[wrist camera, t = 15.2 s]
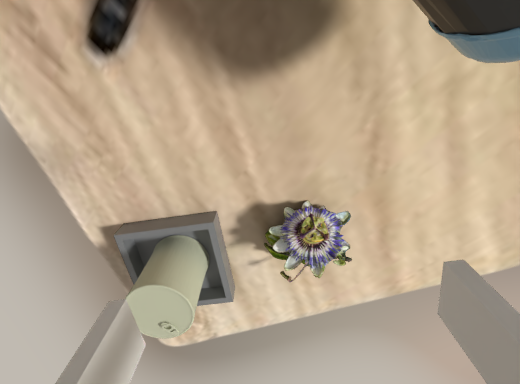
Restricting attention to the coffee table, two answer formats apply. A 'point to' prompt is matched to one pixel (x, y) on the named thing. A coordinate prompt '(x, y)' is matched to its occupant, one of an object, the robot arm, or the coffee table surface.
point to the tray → (195, 226)
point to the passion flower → (309, 239)
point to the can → (169, 287)
